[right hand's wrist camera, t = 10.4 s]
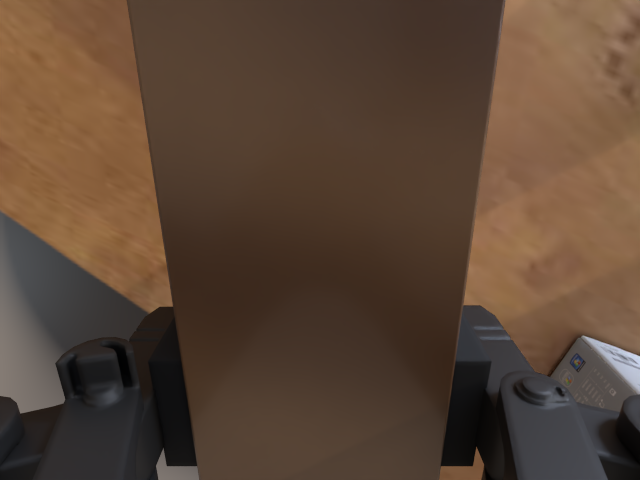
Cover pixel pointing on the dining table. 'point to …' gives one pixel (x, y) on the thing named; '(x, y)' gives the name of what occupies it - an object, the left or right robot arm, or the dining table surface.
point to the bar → (317, 221)
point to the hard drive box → (599, 374)
